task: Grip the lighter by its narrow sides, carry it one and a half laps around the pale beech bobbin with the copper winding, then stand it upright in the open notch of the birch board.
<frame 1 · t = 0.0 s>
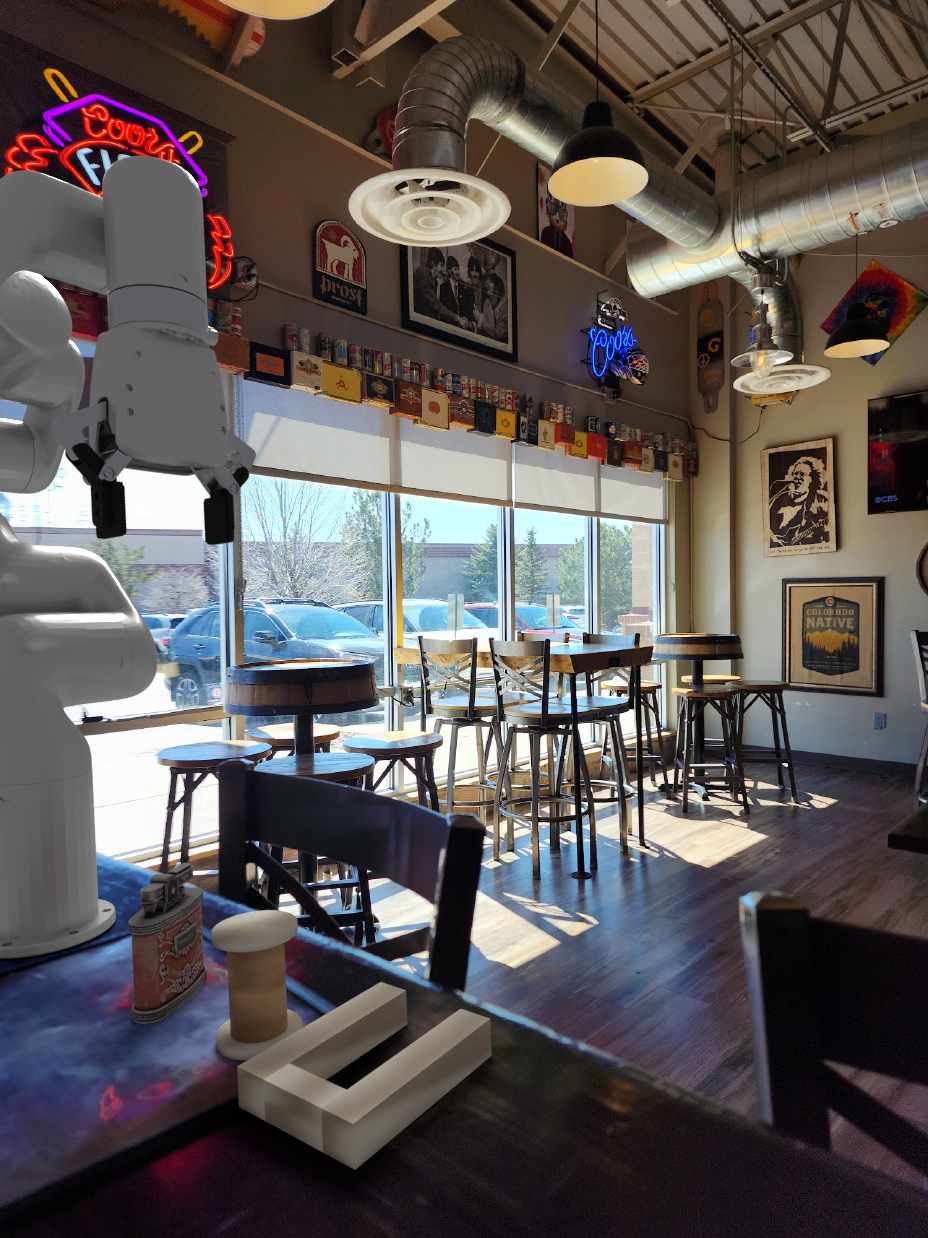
hand: (168, 540, 63), 37 cm above the table, tool pointing down, fingers open, 9 cm apart
lighter: (171, 1000, 63), on the table
bobbin: (259, 1036, 57), on the table
notched board: (370, 1080, 51), on the table
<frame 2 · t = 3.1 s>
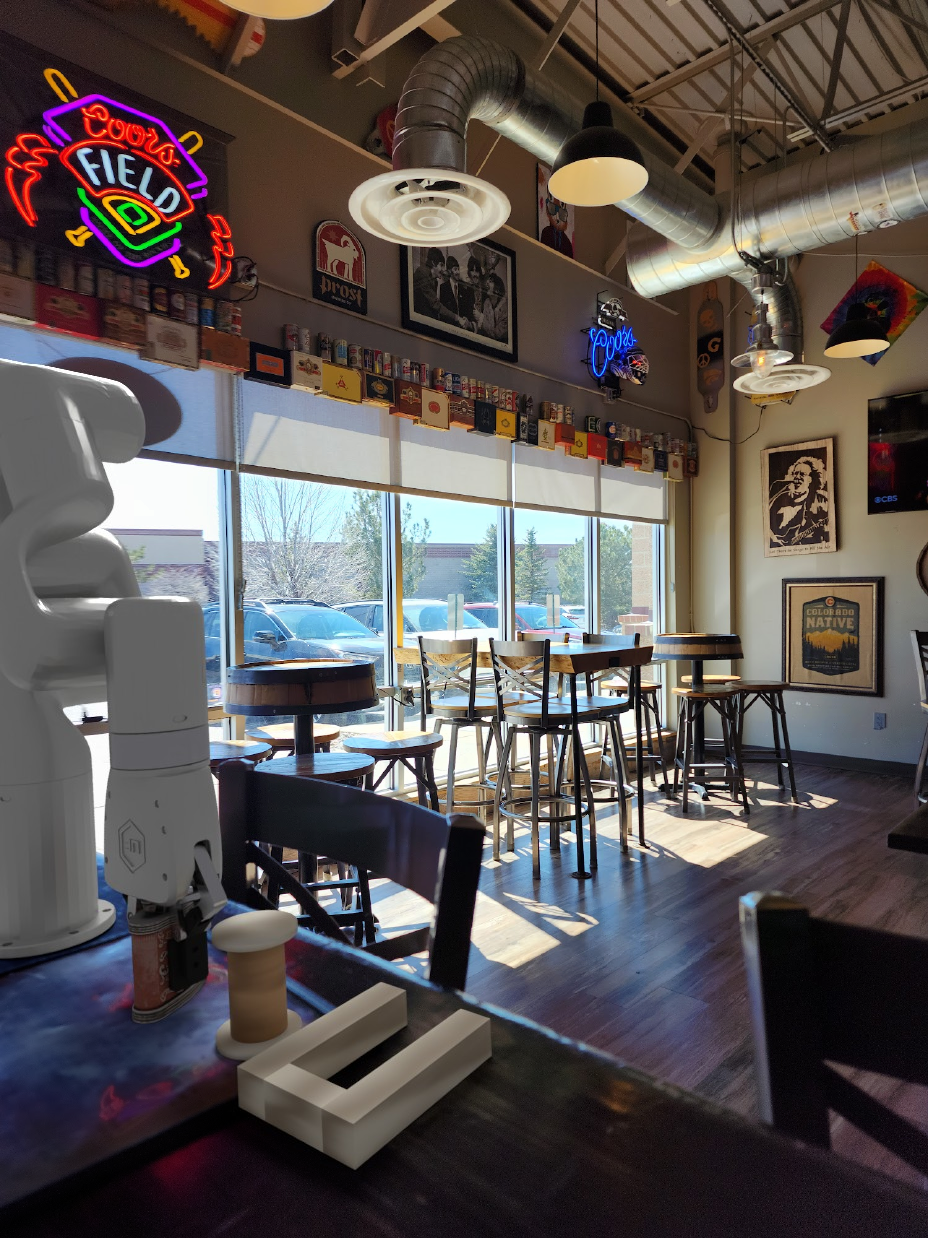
hand: (170, 974, 63), 2 cm above the table, tool pointing down, fingers closed on lighter, 4 cm apart
lighter: (171, 1000, 63), on the table, touching gripper
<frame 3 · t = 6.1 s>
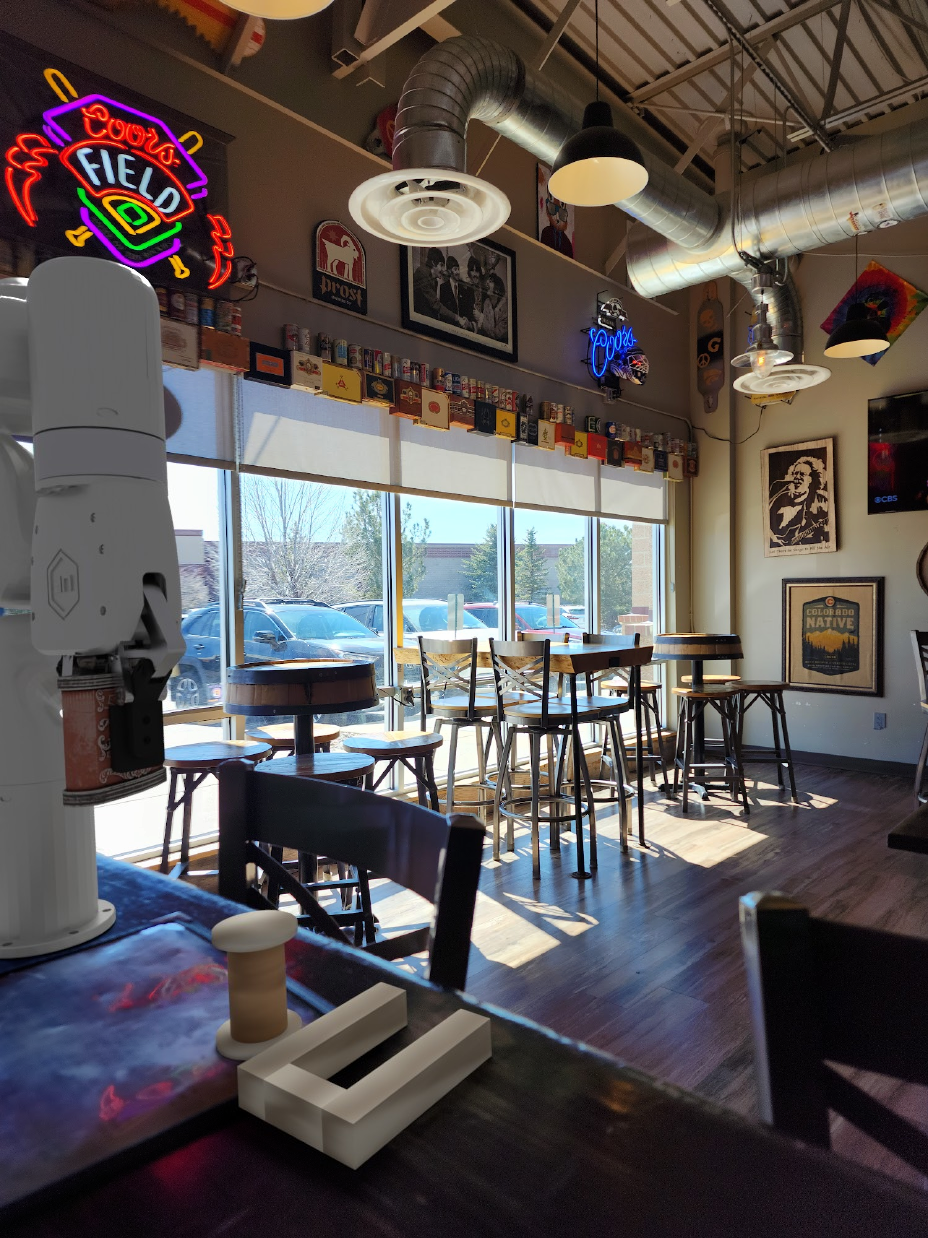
hand: (116, 762, 49), 21 cm above the table, tool pointing down, fingers closed on lighter, 4 cm apart
lighter: (118, 795, 49), point 19 cm above the table, touching gripper
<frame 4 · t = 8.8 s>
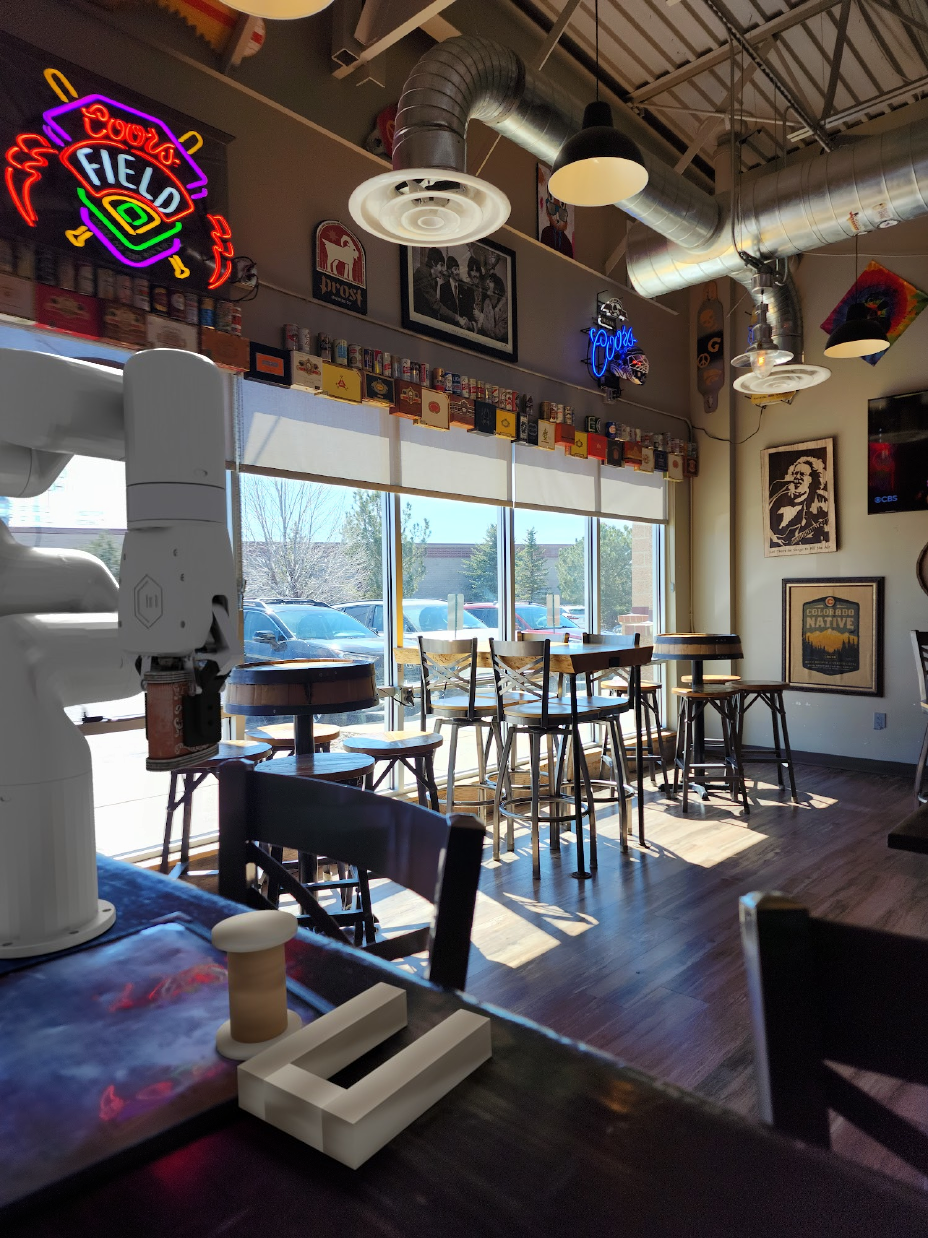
hand: (183, 739, 63), 21 cm above the table, tool pointing down, fingers closed on lighter, 4 cm apart
lighter: (184, 763, 63), point 19 cm above the table, touching gripper
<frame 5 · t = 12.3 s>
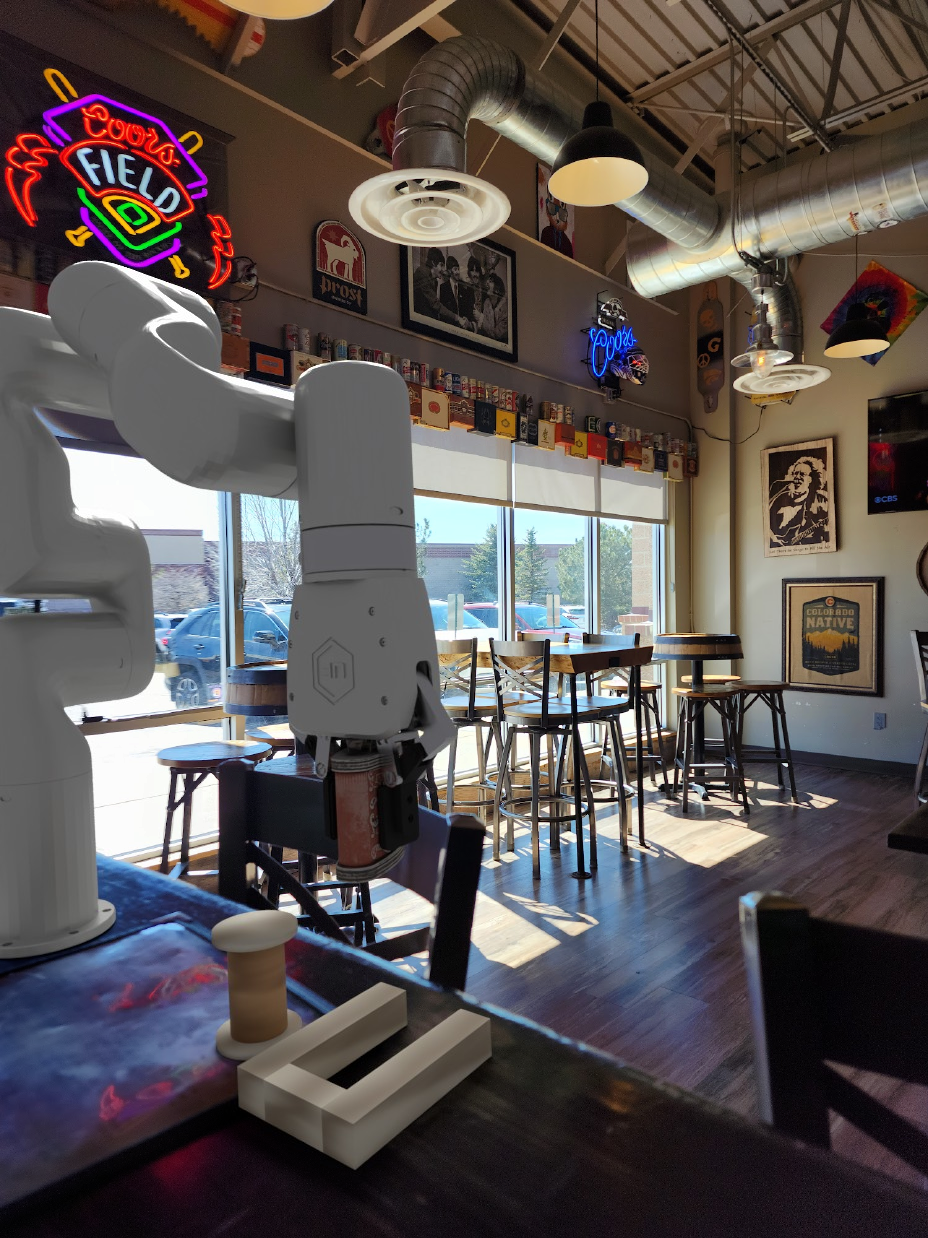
hand: (372, 836, 51), 16 cm above the table, tool pointing down, fingers closed on lighter, 4 cm apart
lighter: (373, 865, 51), point 14 cm above the table, touching gripper
when the fingers open (3 cm above the table, at t = 14.7 s): lighter drops 2 cm, resting in notched board.
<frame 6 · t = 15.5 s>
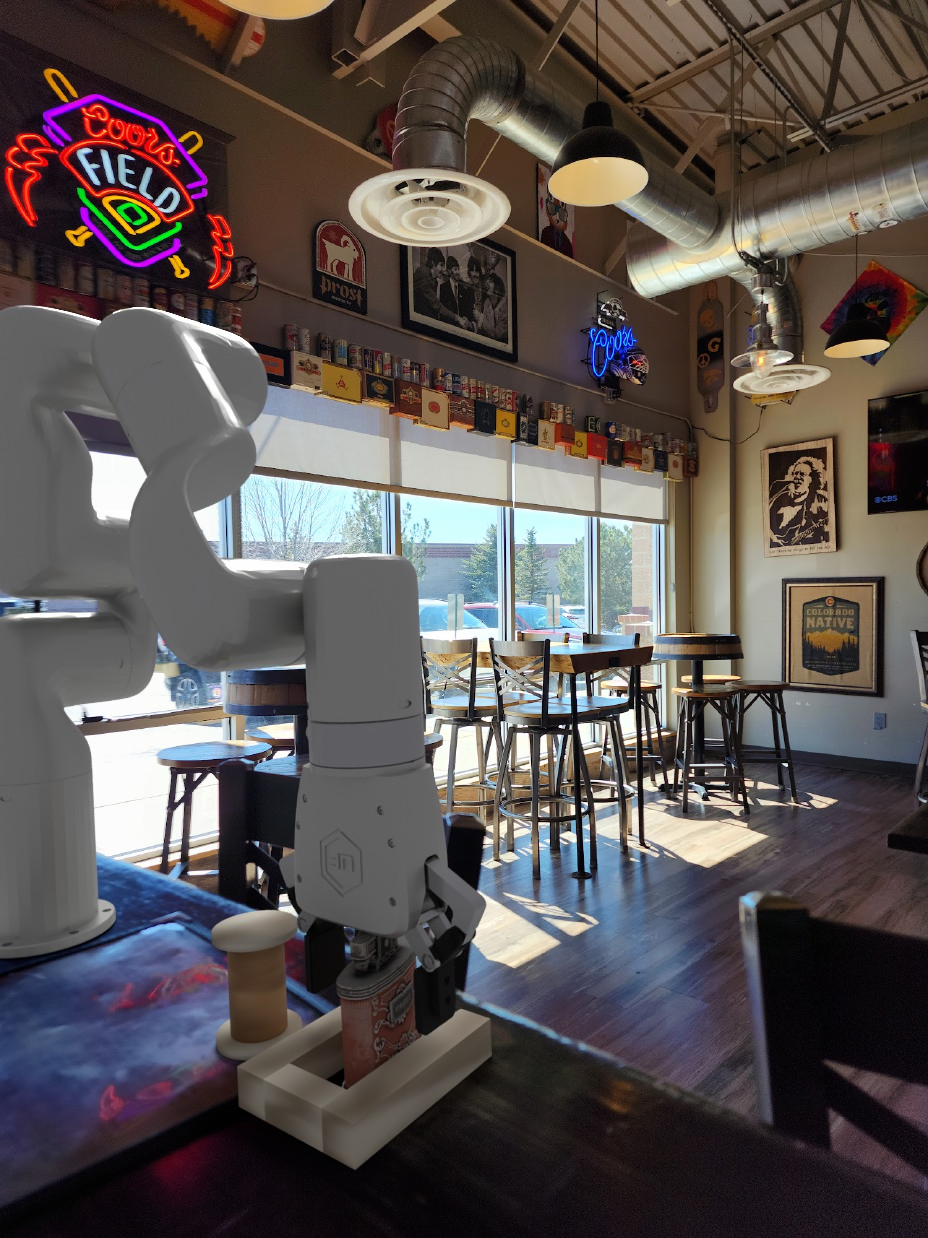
hand: (378, 1004, 51), 5 cm above the table, tool pointing down, fingers open, 9 cm apart
lighter: (385, 1076, 51), resting in notched board
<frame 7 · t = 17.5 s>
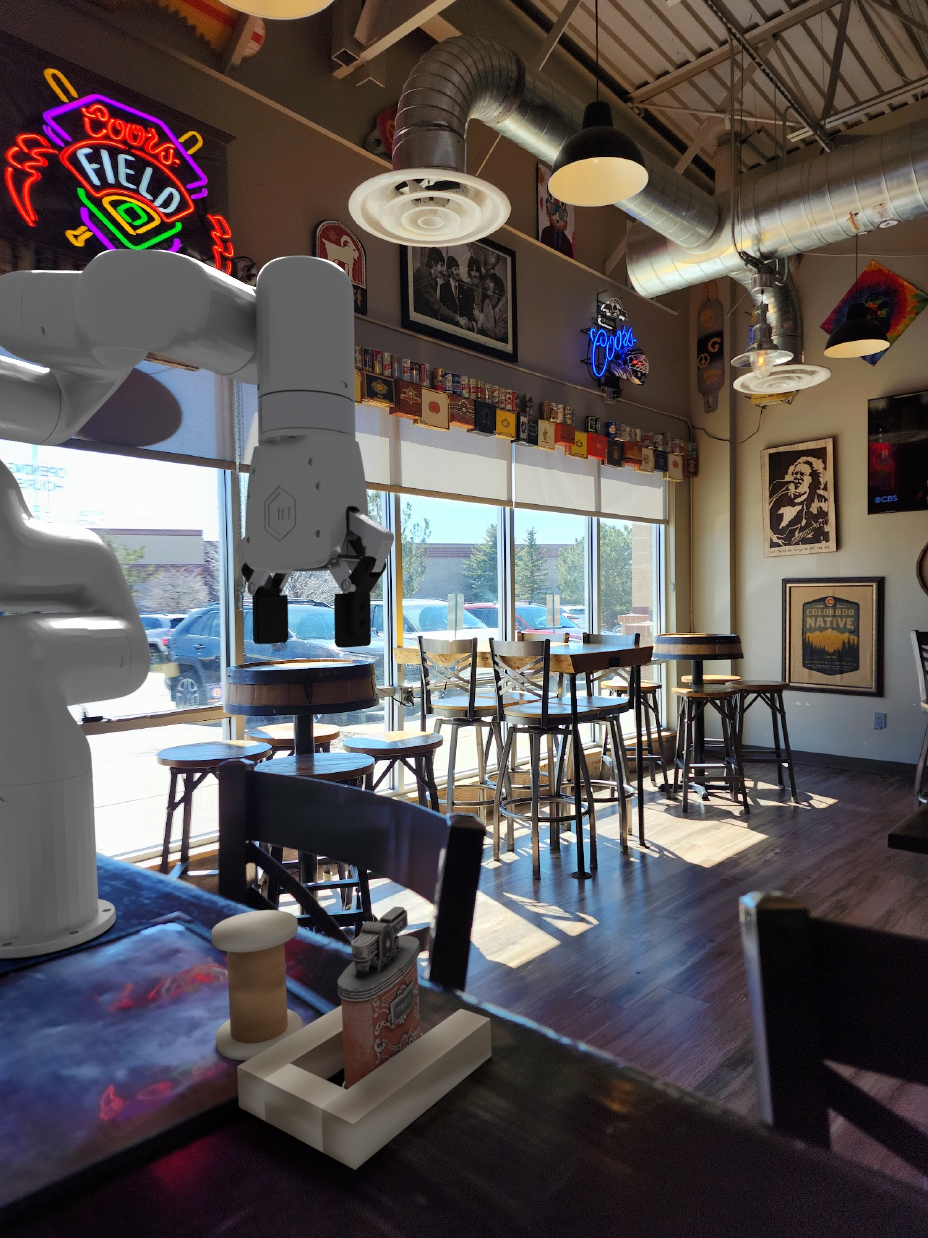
hand: (310, 644, 62), 28 cm above the table, tool pointing down, fingers open, 9 cm apart
nothing on the table moved.
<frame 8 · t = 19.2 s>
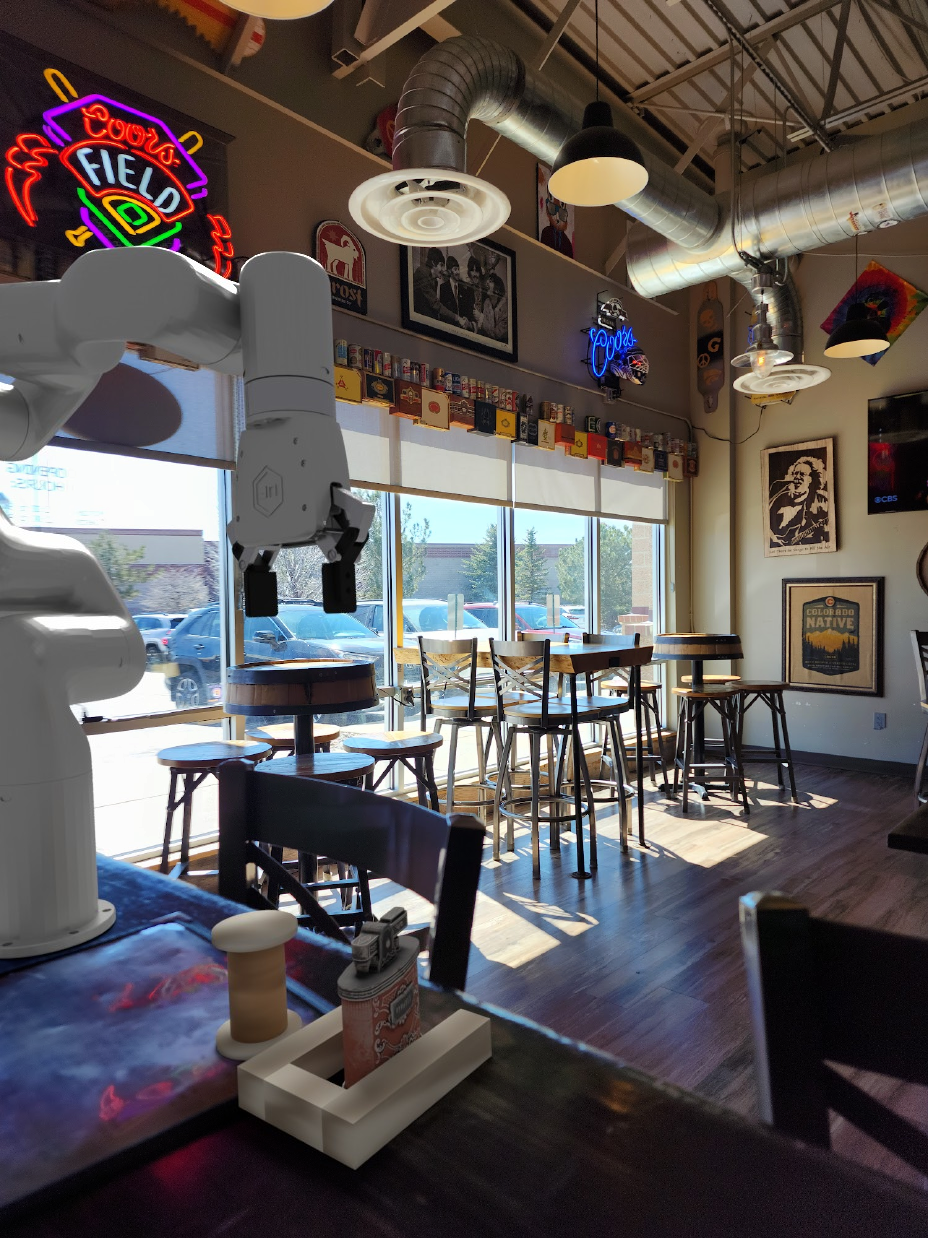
hand: (299, 615, 66), 30 cm above the table, tool pointing down, fingers open, 9 cm apart
nothing on the table moved.
at the end: lighter 0.3 cm from the target spot on the notched board, point 0.0 cm above the notched board's base; lighter tilted 0°; the gripper is holding nothing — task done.
